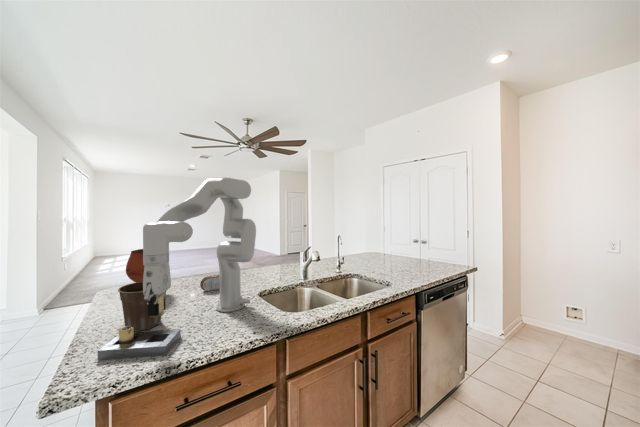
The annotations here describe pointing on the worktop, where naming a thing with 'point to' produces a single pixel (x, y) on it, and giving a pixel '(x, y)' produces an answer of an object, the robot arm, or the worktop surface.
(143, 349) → the jig
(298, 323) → the worktop surface
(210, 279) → the tin
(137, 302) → the plant pot
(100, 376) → the worktop surface
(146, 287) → the robot arm
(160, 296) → the brass cylinder
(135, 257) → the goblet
